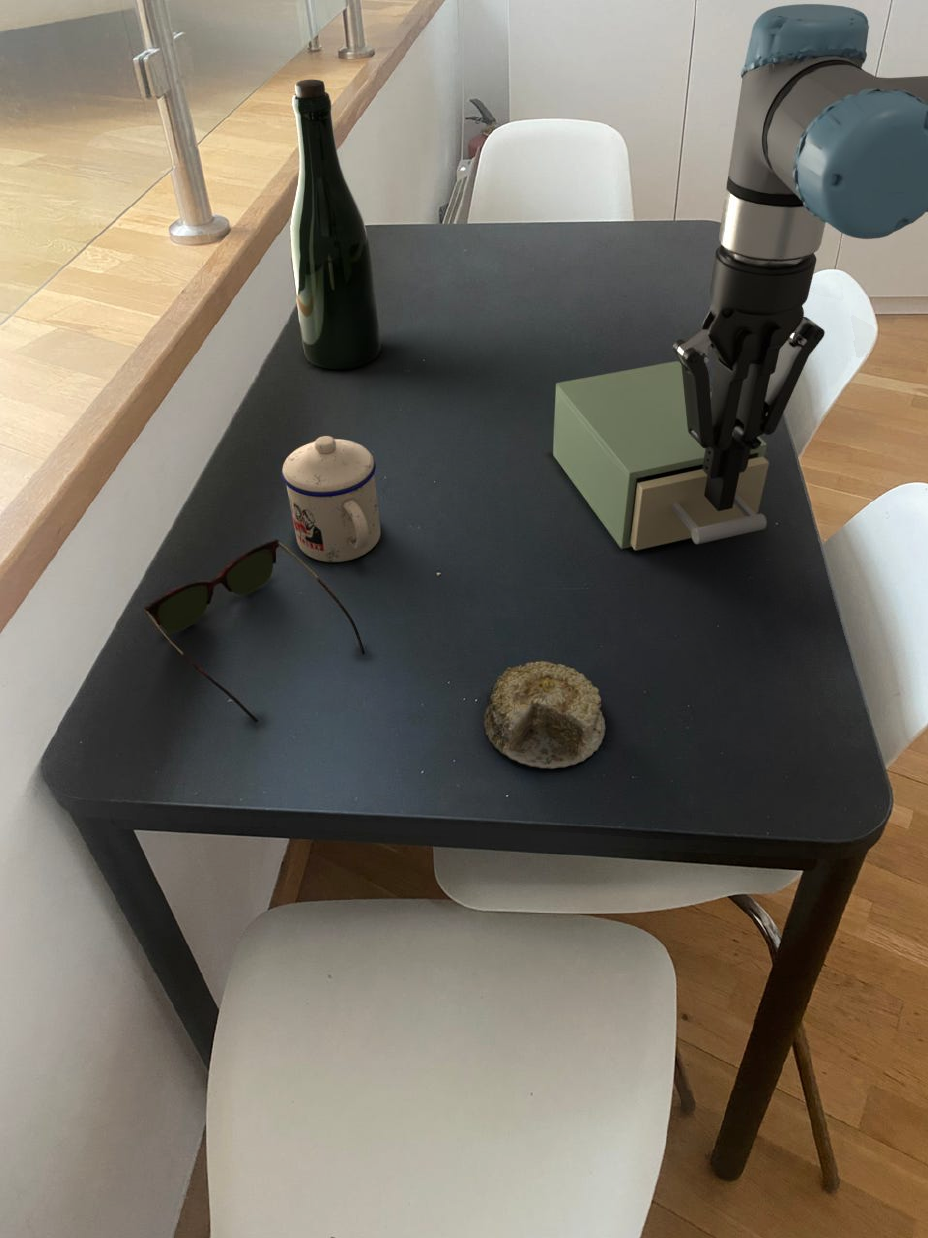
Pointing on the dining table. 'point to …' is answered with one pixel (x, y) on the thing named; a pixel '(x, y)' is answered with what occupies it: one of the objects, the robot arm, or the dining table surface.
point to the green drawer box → (624, 437)
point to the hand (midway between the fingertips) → (718, 501)
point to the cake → (544, 715)
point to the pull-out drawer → (694, 507)
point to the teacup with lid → (333, 499)
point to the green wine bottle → (329, 245)
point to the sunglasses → (238, 578)
